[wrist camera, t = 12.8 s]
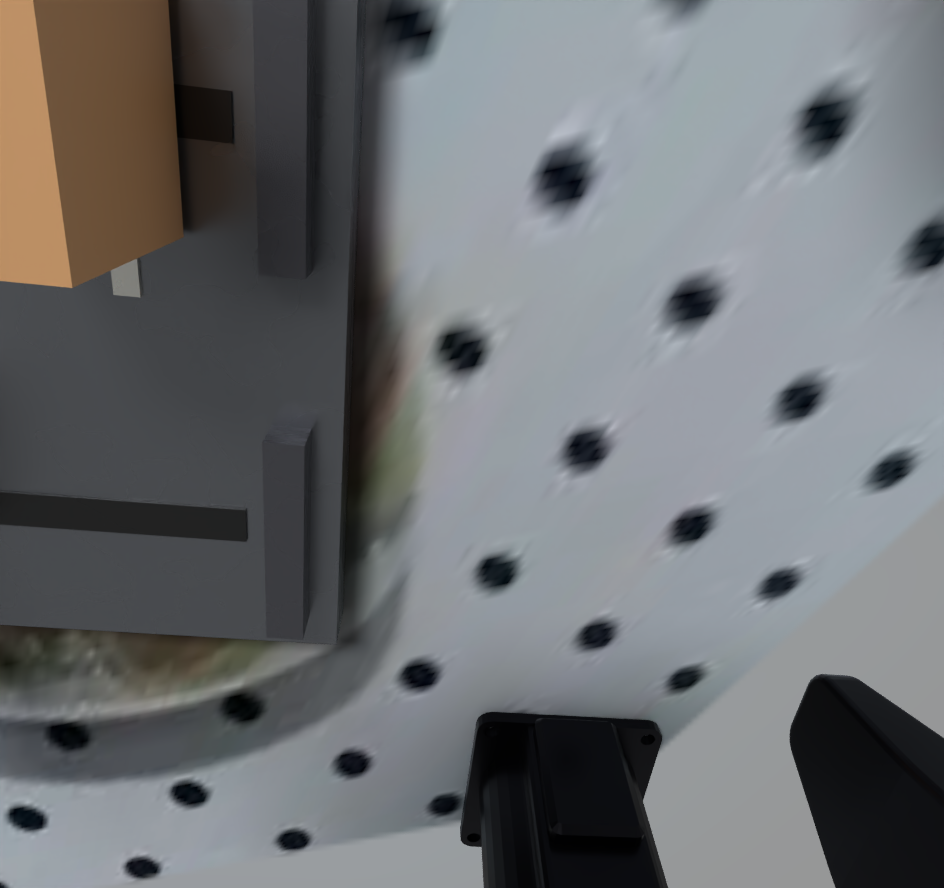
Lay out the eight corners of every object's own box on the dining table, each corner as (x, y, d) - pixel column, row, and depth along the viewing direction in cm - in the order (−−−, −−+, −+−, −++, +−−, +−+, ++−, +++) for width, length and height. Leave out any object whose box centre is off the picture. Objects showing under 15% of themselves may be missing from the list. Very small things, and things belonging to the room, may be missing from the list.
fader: (183, 237, 15) (67, 290, 10) (40, 222, 15) (-144, 269, 10) (165, -36, 13) (9, -122, 8) (-2, -58, 13) (-258, -159, 8)
